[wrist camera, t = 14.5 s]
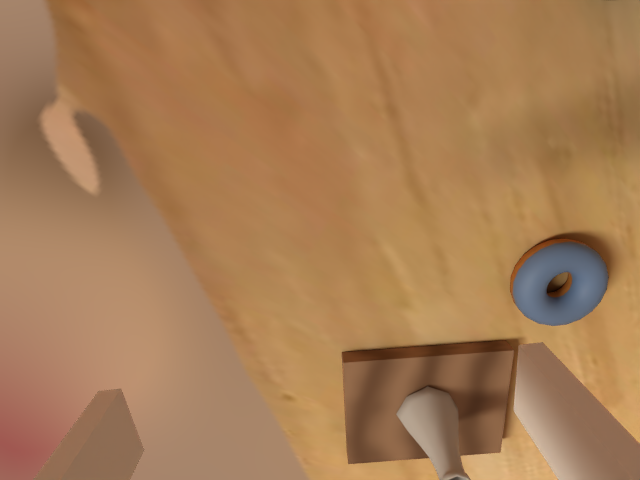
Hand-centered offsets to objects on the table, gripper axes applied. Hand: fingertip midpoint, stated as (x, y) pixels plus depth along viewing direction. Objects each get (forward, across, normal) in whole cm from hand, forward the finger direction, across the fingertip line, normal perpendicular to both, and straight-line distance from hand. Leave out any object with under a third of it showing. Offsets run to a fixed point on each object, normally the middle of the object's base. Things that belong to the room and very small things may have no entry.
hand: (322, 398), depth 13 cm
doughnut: (+29, +25, -12) cm, 40 cm away
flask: (+26, +10, -28) cm, 40 cm away
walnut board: (+28, +10, -28) cm, 41 cm away
